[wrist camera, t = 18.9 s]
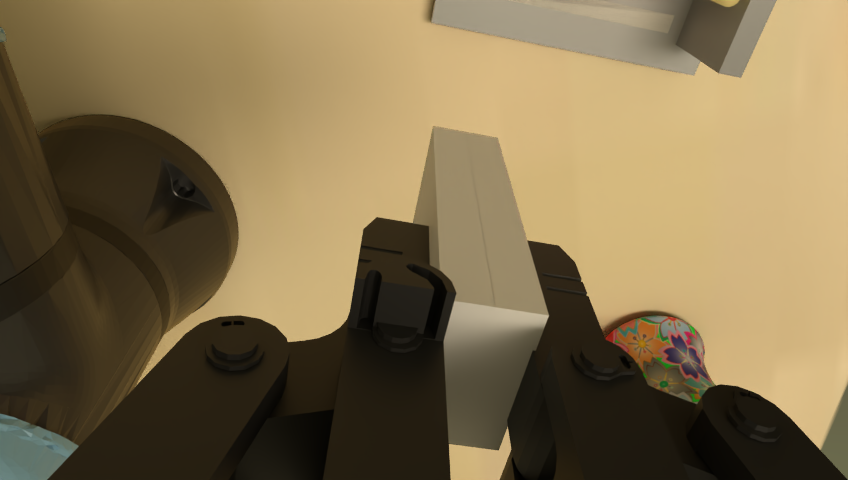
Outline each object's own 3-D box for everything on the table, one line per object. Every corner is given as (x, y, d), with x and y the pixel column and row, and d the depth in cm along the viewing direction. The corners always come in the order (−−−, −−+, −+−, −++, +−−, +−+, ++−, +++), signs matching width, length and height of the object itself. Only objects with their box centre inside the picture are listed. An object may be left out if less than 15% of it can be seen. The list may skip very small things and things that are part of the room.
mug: (593, 305, 47) (634, 410, 38) (715, 302, 47) (787, 407, 37) (577, 417, 53) (609, 531, 44) (685, 415, 53) (740, 529, 44)
